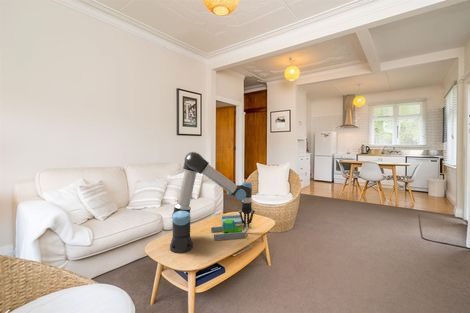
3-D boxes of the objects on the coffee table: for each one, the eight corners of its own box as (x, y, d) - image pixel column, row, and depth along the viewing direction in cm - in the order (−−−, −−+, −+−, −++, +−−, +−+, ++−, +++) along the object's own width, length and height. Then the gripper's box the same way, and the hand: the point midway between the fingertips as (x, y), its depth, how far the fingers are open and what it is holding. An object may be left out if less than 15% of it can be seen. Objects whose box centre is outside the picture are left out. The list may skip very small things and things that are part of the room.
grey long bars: (214, 240, 165) (214, 234, 165) (211, 232, 181) (211, 227, 181) (245, 237, 170) (245, 232, 170) (240, 229, 186) (240, 224, 186)
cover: (244, 228, 187) (244, 219, 187) (222, 230, 183) (222, 220, 183) (240, 223, 200) (240, 214, 200) (219, 225, 196) (219, 215, 195)
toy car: (240, 237, 170) (240, 224, 170) (223, 236, 173) (223, 223, 172) (242, 232, 180) (242, 220, 180) (226, 231, 183) (226, 219, 182)
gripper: (239, 203, 173) (239, 234, 174) (256, 202, 176) (255, 232, 177) (237, 201, 180) (237, 230, 181) (253, 200, 183) (252, 229, 184)
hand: (246, 231), depth 179 cm, fingers closed
